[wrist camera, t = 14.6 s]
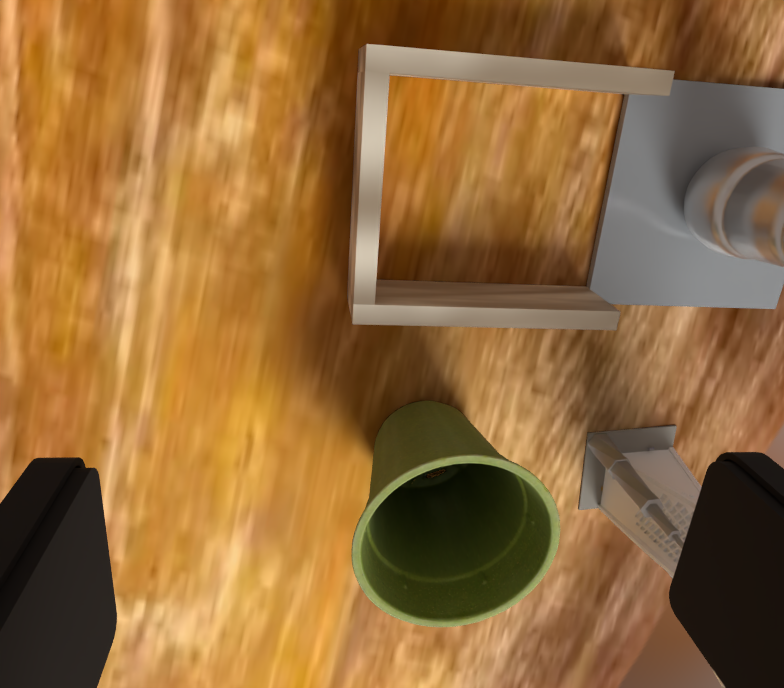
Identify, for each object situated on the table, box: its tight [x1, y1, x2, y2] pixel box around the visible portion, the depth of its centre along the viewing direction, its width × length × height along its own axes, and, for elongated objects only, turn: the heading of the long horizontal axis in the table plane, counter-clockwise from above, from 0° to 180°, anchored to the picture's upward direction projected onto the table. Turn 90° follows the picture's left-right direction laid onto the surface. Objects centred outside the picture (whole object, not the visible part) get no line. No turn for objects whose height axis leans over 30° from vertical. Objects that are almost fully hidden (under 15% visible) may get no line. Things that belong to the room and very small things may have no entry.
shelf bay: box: [347, 44, 675, 330], centre depth 36 cm, size 14×16×5 cm
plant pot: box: [352, 401, 560, 627], centre depth 40 cm, size 12×12×11 cm
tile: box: [586, 79, 784, 309], centre depth 40 cm, size 14×14×1 cm
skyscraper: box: [578, 425, 725, 688], centre depth 36 cm, size 8×8×28 cm
